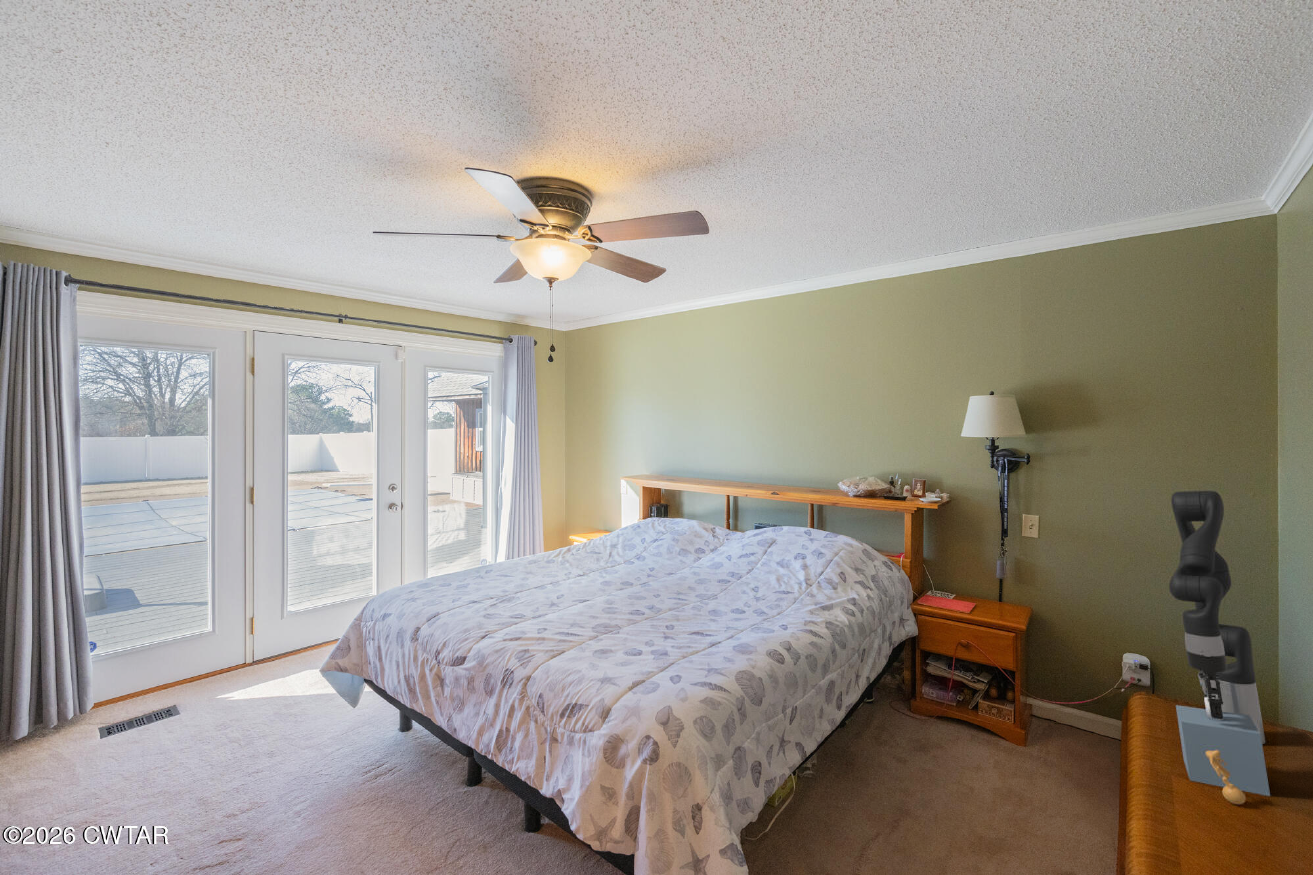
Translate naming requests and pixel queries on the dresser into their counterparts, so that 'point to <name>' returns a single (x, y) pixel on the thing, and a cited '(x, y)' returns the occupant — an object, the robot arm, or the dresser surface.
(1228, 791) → the figurine
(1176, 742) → the dresser surface
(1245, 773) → the block with white knob
